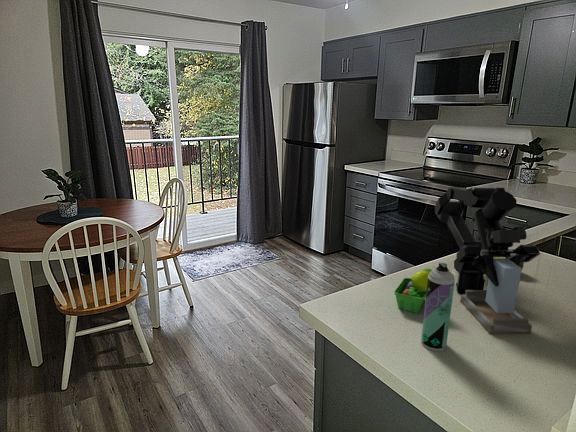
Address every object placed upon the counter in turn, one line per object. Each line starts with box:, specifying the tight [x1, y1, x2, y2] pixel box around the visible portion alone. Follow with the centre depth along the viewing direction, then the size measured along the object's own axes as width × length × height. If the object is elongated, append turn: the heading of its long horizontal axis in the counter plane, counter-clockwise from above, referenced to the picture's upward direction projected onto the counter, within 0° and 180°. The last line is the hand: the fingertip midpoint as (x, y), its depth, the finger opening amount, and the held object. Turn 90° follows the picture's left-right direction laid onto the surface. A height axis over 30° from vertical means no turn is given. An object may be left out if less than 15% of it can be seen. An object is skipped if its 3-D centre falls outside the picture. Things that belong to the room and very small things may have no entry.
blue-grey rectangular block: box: [485, 259, 523, 313], centre depth 96 cm, size 6×4×12 cm, turn 0°
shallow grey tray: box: [460, 289, 533, 335], centre depth 100 cm, size 16×10×4 cm, turn 0°
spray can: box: [420, 262, 456, 352], centre depth 86 cm, size 6×6×20 cm
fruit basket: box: [393, 267, 432, 314], centre depth 105 cm, size 11×9×11 cm
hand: (506, 285), depth 94 cm, fingers closed on blue-grey rectangular block, 4 cm apart
